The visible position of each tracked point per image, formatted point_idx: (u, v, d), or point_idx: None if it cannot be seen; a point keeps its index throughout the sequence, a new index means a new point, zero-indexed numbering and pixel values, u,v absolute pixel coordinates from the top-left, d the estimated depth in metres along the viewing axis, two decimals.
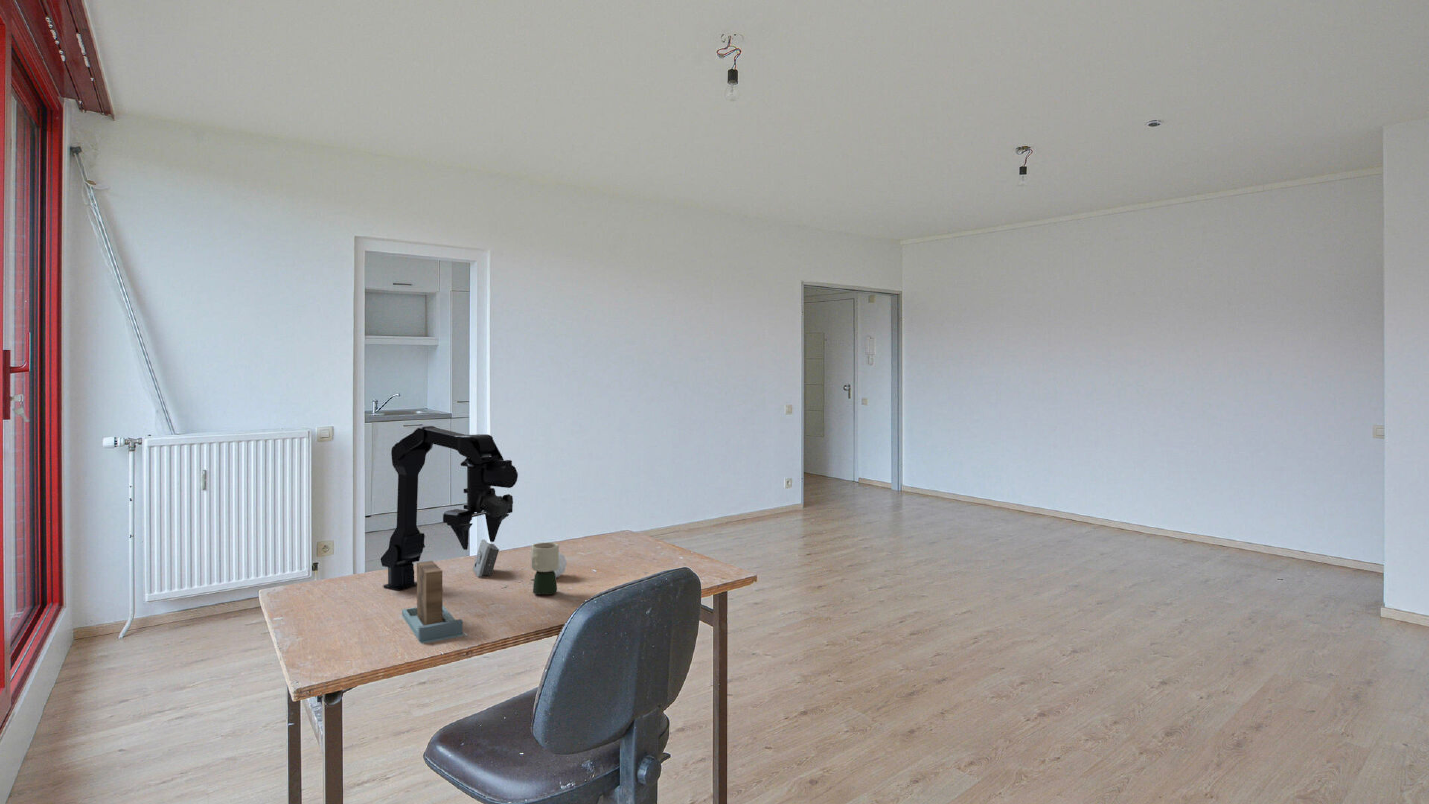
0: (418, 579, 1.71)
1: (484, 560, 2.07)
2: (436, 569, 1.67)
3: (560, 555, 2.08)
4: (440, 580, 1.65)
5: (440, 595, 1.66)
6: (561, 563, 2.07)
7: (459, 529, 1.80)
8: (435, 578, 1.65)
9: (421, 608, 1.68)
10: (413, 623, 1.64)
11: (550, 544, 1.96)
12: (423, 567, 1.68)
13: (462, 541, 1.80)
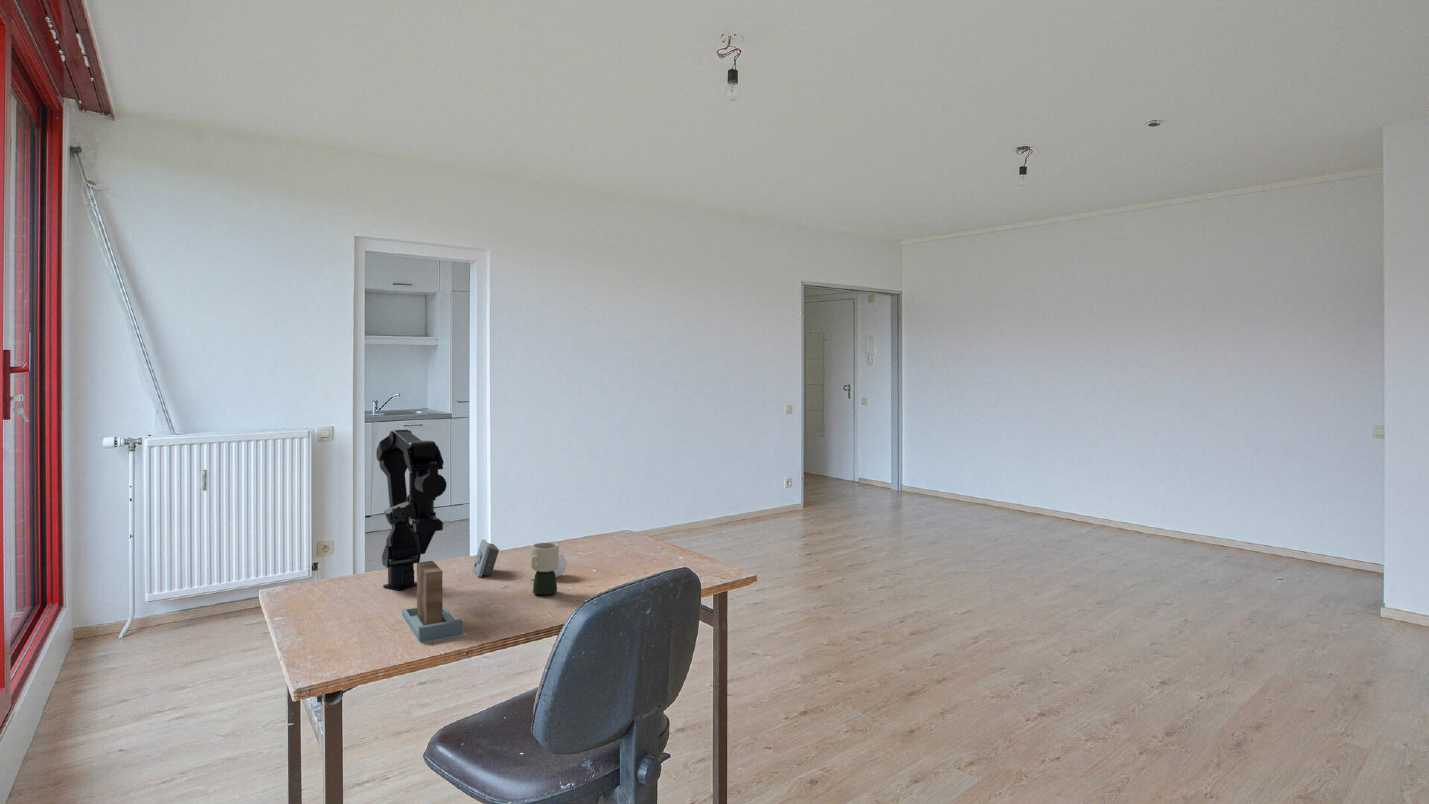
0: (418, 579, 1.71)
1: (484, 560, 2.07)
2: (436, 569, 1.67)
3: (560, 555, 2.08)
4: (440, 580, 1.65)
5: (440, 595, 1.66)
6: (561, 563, 2.07)
7: None
8: (435, 578, 1.65)
9: (421, 608, 1.68)
10: (413, 623, 1.64)
11: (550, 544, 1.96)
12: (423, 567, 1.68)
13: None
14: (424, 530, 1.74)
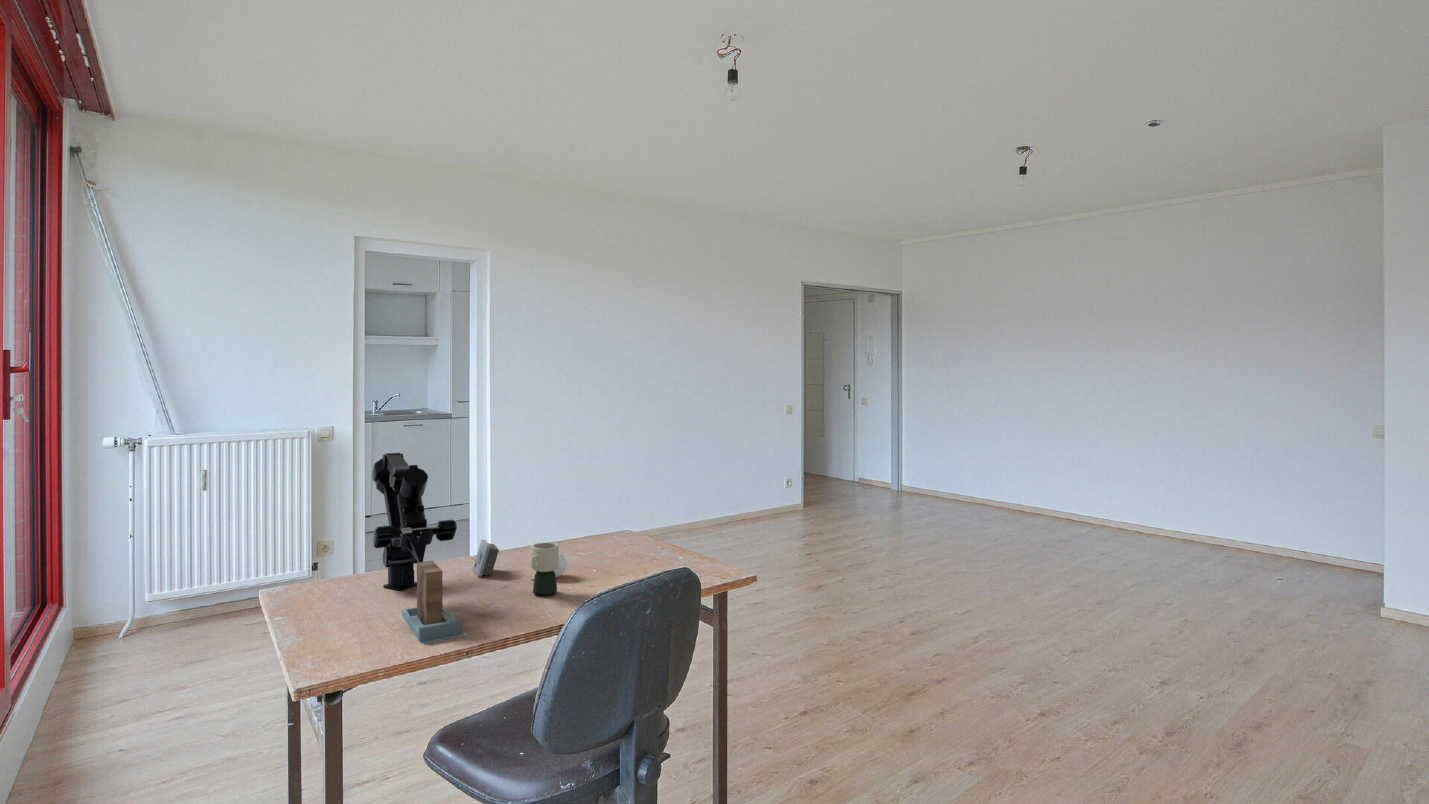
0: (418, 579, 1.71)
1: (484, 560, 2.07)
2: (436, 569, 1.67)
3: (560, 555, 2.08)
4: (440, 580, 1.65)
5: (440, 595, 1.66)
6: (561, 563, 2.07)
7: None
8: (435, 578, 1.65)
9: (421, 608, 1.68)
10: (413, 623, 1.64)
11: (550, 544, 1.96)
12: (423, 567, 1.68)
13: None
14: (374, 543, 1.76)
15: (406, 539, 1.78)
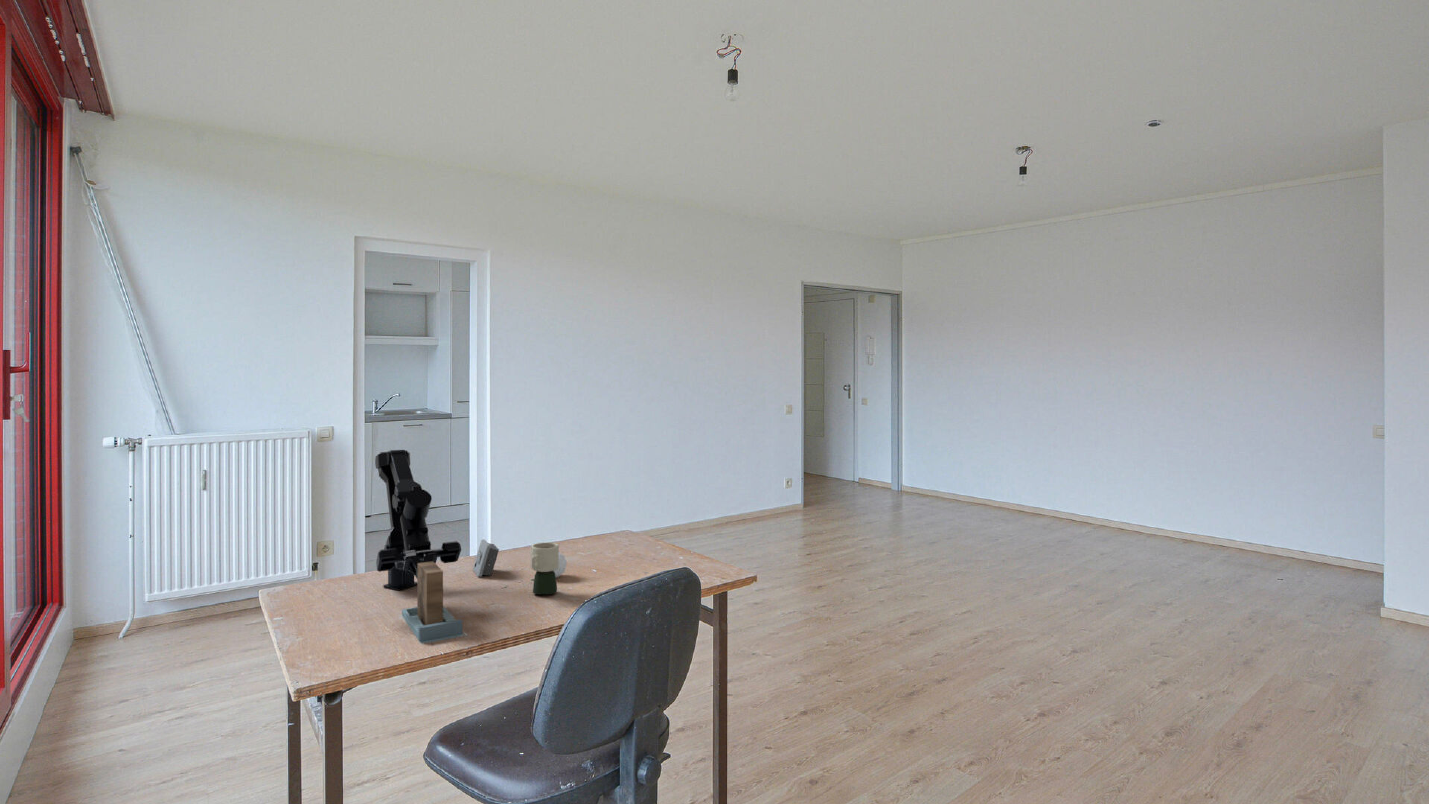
0: (418, 580, 1.70)
1: (484, 560, 2.07)
2: (437, 570, 1.66)
3: (560, 555, 2.08)
4: (441, 581, 1.65)
5: (441, 596, 1.65)
6: (561, 563, 2.07)
7: None
8: (436, 579, 1.64)
9: (422, 609, 1.68)
10: (413, 623, 1.64)
11: (550, 544, 1.96)
12: (424, 568, 1.68)
13: None
14: (377, 566, 1.73)
15: (410, 562, 1.75)
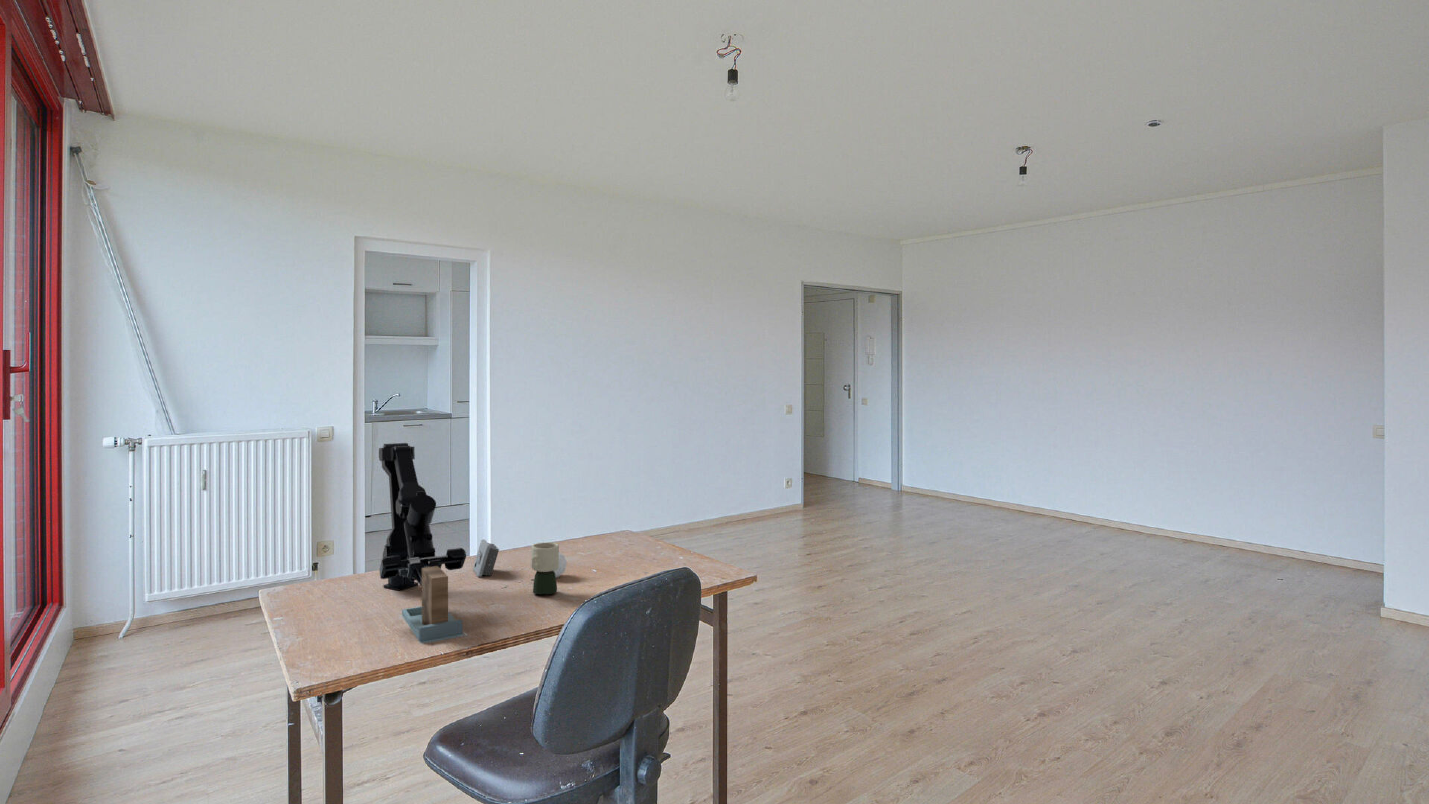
0: (423, 585, 1.66)
1: (484, 560, 2.07)
2: (441, 575, 1.62)
3: (560, 555, 2.08)
4: (446, 586, 1.61)
5: (446, 601, 1.61)
6: (561, 563, 2.07)
7: None
8: (440, 584, 1.60)
9: (426, 615, 1.64)
10: (413, 623, 1.64)
11: (550, 544, 1.96)
12: (428, 572, 1.64)
13: None
14: (380, 573, 1.69)
15: (414, 569, 1.71)
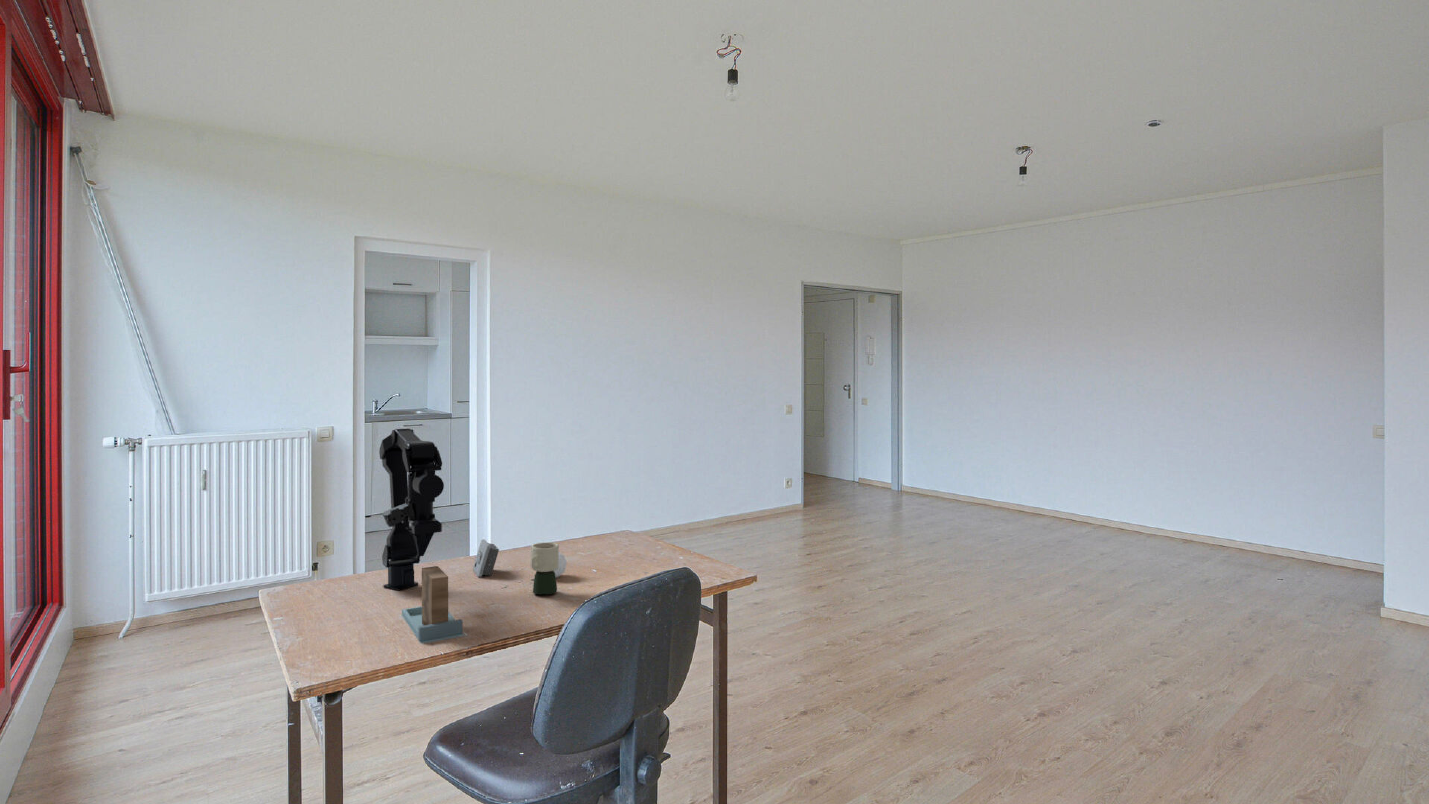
0: (423, 585, 1.66)
1: (484, 560, 2.07)
2: (442, 575, 1.62)
3: (560, 555, 2.08)
4: (446, 586, 1.61)
5: (446, 601, 1.61)
6: (561, 563, 2.07)
7: None
8: (441, 584, 1.60)
9: (426, 615, 1.64)
10: (413, 623, 1.64)
11: (550, 544, 1.96)
12: (428, 573, 1.64)
13: None
14: (422, 532, 1.71)
15: None
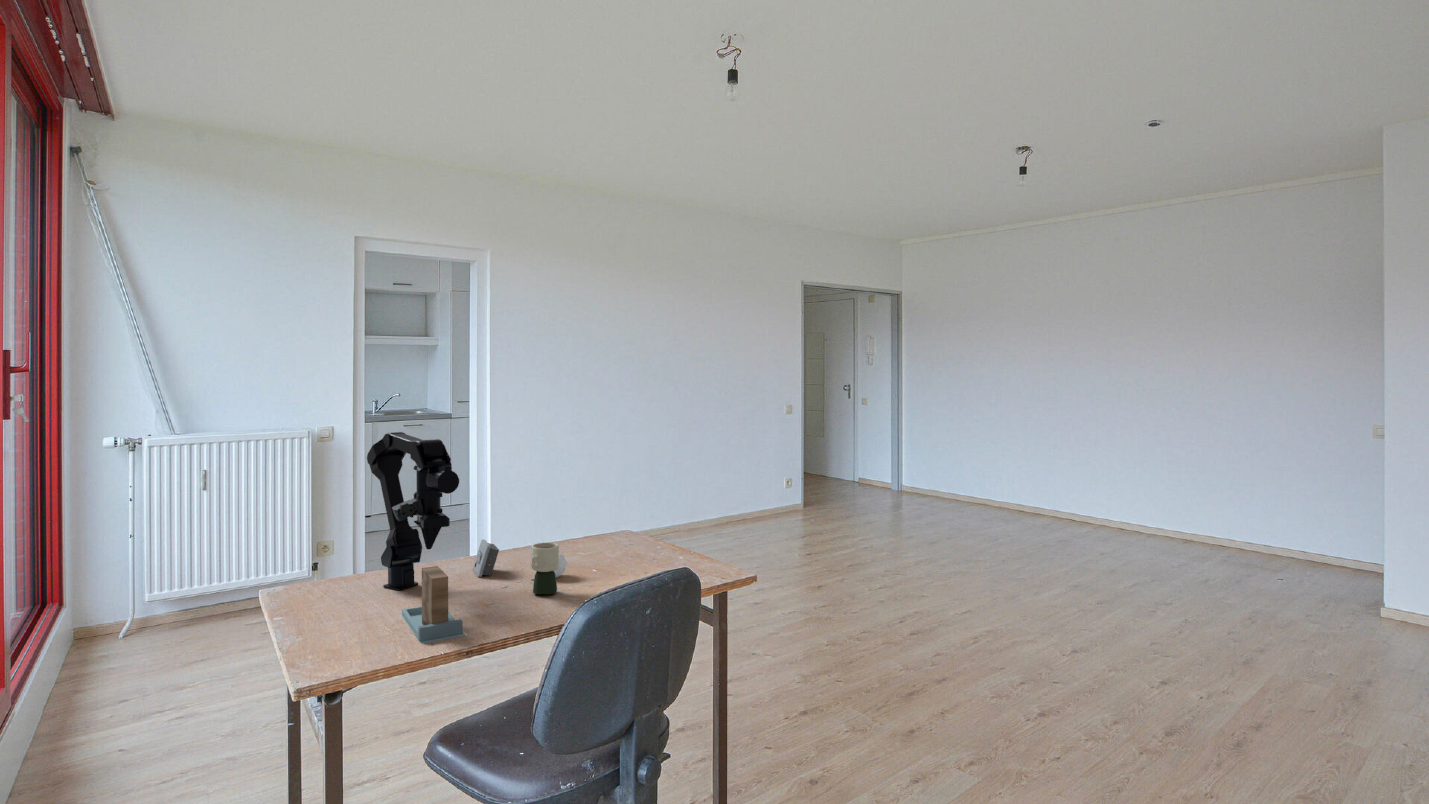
0: (423, 585, 1.66)
1: (484, 560, 2.07)
2: (442, 575, 1.62)
3: (560, 555, 2.08)
4: (446, 586, 1.61)
5: (446, 601, 1.61)
6: (561, 563, 2.07)
7: None
8: (441, 584, 1.60)
9: (426, 615, 1.64)
10: (413, 623, 1.64)
11: (550, 544, 1.96)
12: (428, 573, 1.64)
13: None
14: (431, 526, 1.78)
15: None
